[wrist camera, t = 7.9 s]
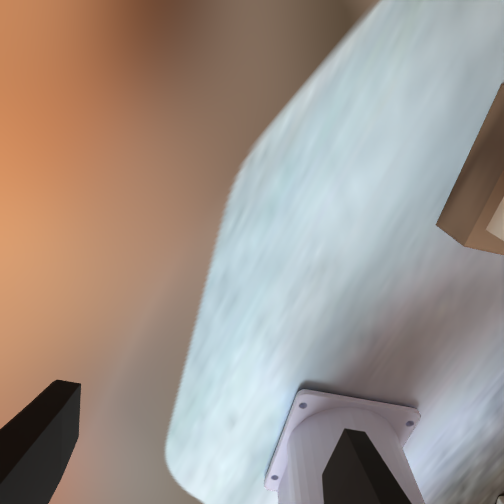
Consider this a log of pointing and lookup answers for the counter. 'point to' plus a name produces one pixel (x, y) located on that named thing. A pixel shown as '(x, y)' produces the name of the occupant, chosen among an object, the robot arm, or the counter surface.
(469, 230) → the walnut base slab
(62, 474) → the robot arm
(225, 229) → the counter surface
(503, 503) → the skincare box
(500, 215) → the cream middle slab
